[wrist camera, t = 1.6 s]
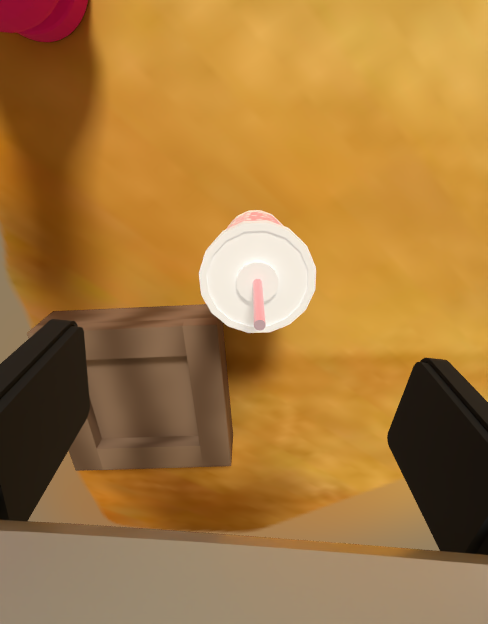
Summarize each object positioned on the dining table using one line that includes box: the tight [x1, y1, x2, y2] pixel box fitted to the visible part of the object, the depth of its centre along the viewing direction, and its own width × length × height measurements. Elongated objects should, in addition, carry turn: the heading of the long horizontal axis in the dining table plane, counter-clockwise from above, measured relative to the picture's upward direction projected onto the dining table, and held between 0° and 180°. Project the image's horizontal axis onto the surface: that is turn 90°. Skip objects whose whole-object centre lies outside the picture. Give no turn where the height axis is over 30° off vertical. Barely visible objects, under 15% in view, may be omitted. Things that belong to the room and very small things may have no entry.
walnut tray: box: [27, 304, 233, 471], centre depth 30 cm, size 14×14×4 cm
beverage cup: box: [199, 210, 316, 333], centre depth 20 cm, size 6×6×14 cm
